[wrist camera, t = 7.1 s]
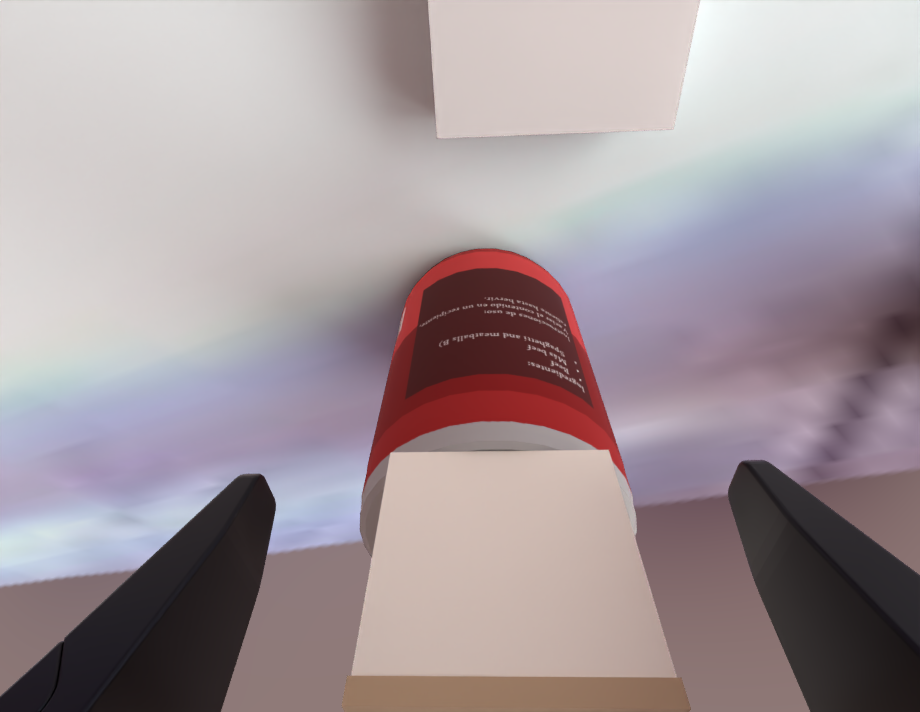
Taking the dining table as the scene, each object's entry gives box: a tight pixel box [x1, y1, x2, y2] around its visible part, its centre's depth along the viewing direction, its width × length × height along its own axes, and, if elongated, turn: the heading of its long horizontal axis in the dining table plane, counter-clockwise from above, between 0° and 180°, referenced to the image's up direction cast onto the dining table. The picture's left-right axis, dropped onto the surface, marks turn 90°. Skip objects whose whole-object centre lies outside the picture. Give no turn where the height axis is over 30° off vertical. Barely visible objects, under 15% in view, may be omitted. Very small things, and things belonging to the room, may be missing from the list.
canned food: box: [360, 249, 637, 557], centre depth 18 cm, size 8×8×11 cm
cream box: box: [342, 450, 691, 712], centre depth 11 cm, size 5×7×5 cm
